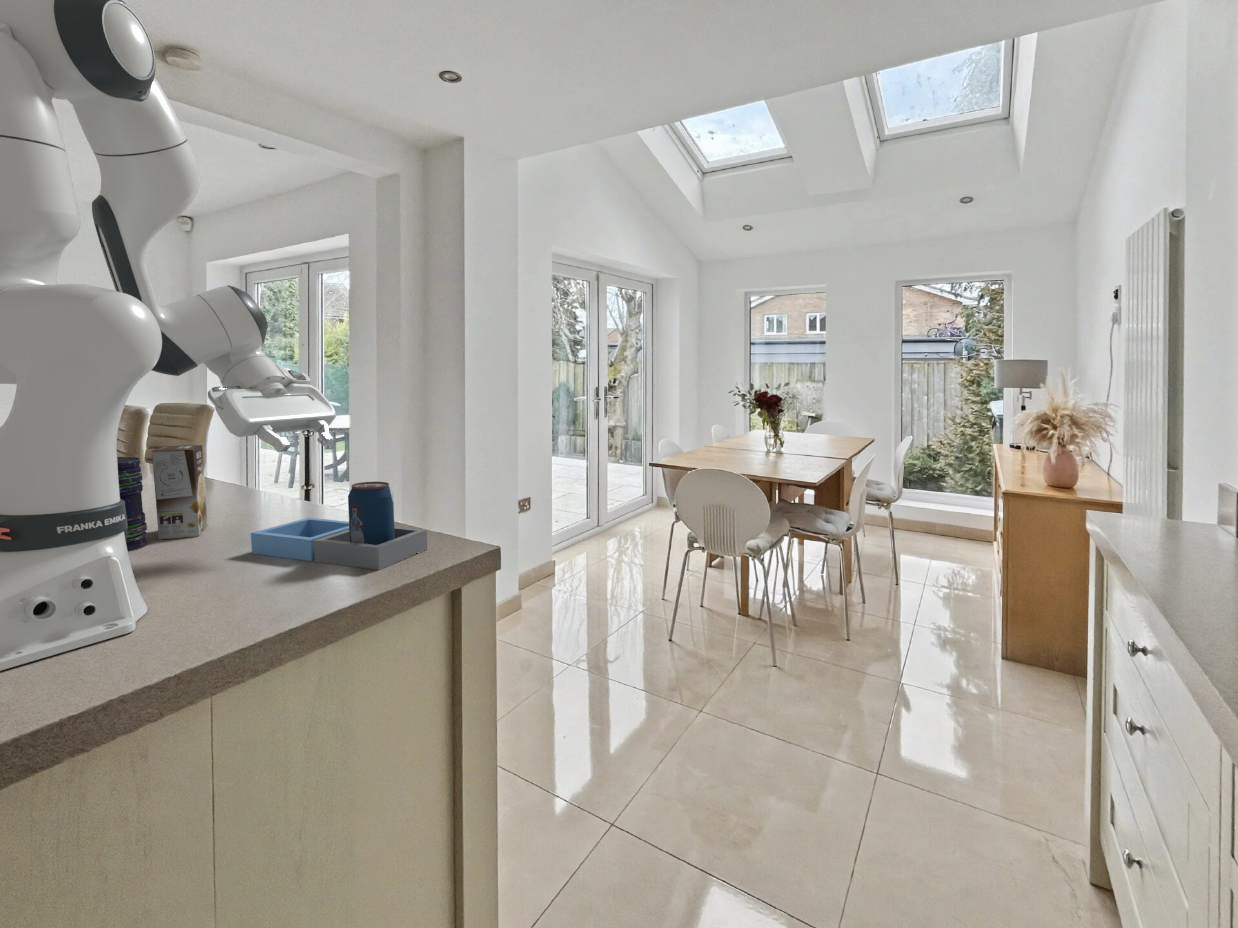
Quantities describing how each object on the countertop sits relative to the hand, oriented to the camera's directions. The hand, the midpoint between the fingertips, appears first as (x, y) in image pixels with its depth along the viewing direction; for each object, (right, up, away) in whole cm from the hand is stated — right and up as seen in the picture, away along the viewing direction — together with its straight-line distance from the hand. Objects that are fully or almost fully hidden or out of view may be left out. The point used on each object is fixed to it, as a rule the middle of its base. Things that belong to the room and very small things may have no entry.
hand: (307, 446), depth 106 cm
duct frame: (+6, -18, 0) cm, 19 cm away
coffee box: (-29, -16, +12) cm, 35 cm away
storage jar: (-33, -17, +1) cm, 38 cm away
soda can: (+12, -18, -1) cm, 22 cm away
